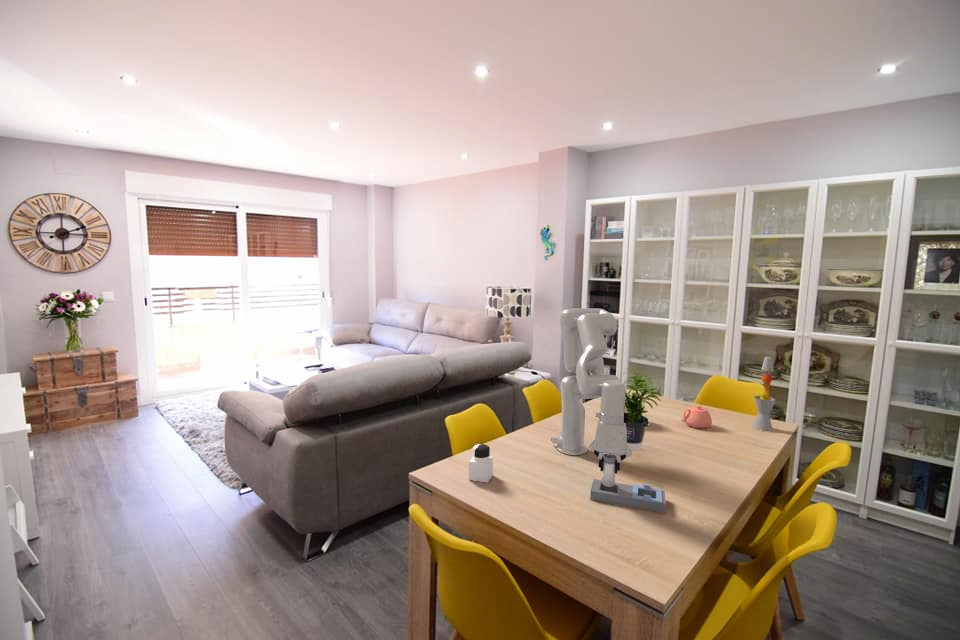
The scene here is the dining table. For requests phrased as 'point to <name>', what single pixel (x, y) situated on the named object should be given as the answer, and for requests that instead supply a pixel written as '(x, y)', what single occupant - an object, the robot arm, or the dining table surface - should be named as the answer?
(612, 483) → the plug
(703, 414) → the pink rounded piece
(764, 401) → the lava lamp
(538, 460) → the dining table surface
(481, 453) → the medicine bottle
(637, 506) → the grey slotted holder
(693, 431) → the dining table surface
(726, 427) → the dining table surface
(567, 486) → the dining table surface
